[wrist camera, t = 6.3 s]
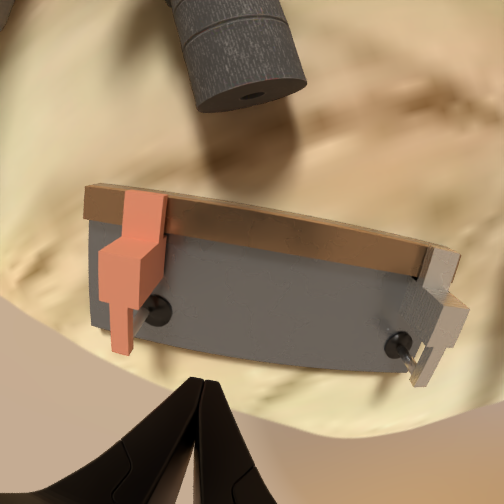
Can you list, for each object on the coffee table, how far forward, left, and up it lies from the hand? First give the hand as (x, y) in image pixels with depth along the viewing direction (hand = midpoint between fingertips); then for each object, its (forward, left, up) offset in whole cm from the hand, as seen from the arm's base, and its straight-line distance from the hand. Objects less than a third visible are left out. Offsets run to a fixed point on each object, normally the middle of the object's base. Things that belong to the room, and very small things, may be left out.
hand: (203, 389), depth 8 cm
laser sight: (+5, -20, -12) cm, 24 cm away
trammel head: (+5, 0, -10) cm, 11 cm away
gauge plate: (-3, +1, -12) cm, 12 cm away
